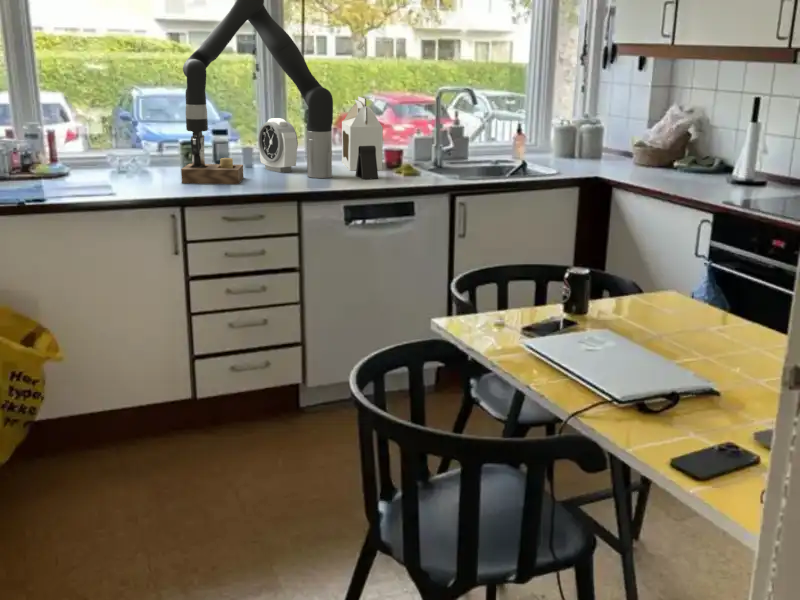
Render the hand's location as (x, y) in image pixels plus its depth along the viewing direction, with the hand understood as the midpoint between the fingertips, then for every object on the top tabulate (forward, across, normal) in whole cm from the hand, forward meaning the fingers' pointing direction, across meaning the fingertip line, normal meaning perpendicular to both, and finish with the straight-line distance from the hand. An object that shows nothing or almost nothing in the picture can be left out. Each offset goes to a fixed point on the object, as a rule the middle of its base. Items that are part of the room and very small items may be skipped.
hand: (198, 165), depth 310 cm
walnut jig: (+6, 0, -5) cm, 7 cm away
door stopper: (+6, +12, -61) cm, 62 cm away
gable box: (+6, +41, -59) cm, 72 cm away
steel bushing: (+1, 0, 0) cm, 1 cm away
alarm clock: (+6, +28, -26) cm, 39 cm away
